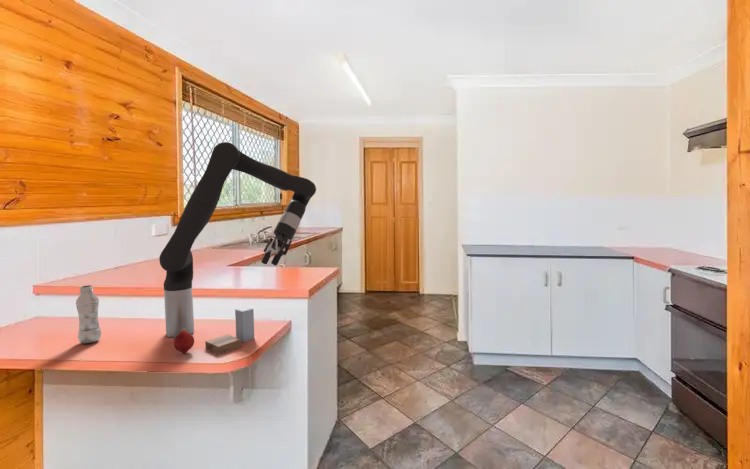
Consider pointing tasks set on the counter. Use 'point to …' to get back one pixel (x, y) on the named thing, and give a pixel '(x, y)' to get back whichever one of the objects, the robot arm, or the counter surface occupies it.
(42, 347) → the counter surface
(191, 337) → the onion
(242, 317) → the pillar
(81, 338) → the plastic bottle
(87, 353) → the counter surface
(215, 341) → the base slab
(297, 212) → the robot arm
